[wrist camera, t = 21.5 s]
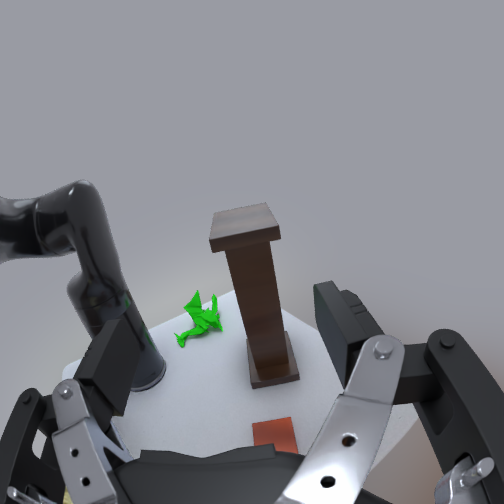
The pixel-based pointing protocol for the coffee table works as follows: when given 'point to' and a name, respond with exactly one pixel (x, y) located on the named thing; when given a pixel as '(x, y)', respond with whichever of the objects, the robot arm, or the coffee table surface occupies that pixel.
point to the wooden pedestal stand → (256, 290)
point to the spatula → (276, 434)
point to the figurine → (200, 318)
